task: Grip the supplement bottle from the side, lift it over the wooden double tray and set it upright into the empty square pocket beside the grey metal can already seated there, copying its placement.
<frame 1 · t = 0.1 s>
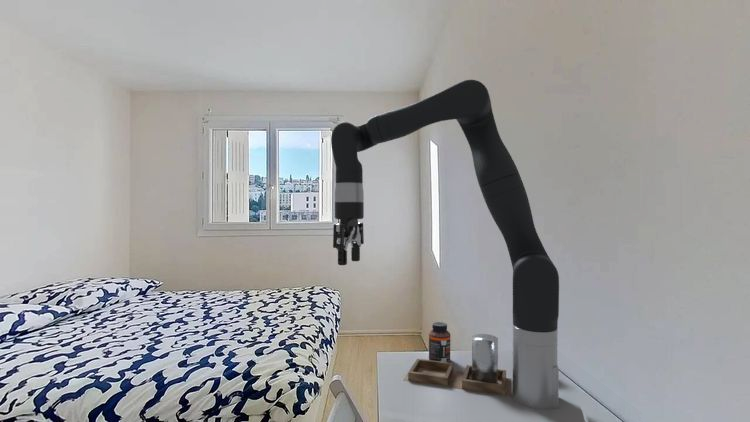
hand: (349, 263, 103), 29 cm above the table, tool pointing down, fingers open, 8 cm apart
supplement bottle: (439, 365, 110), on the table
seated can: (484, 383, 95), resting on wooden double tray
wooden double tray: (457, 384, 97), on the table
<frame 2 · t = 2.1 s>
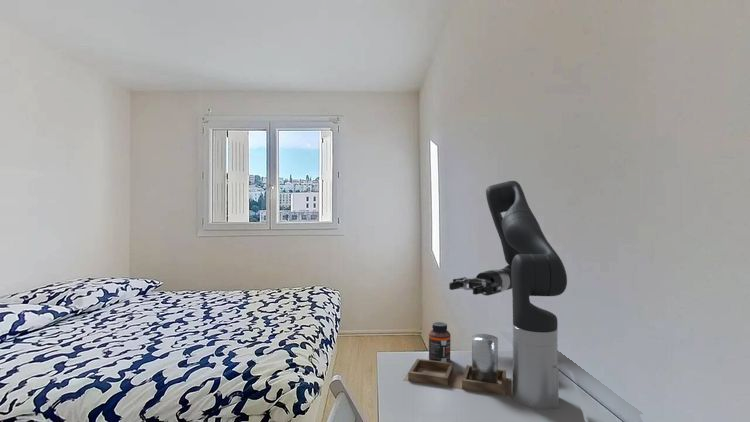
hand: (461, 288, 116), 20 cm above the table, tool horizontal, fingers open, 8 cm apart
nothing on the table moved.
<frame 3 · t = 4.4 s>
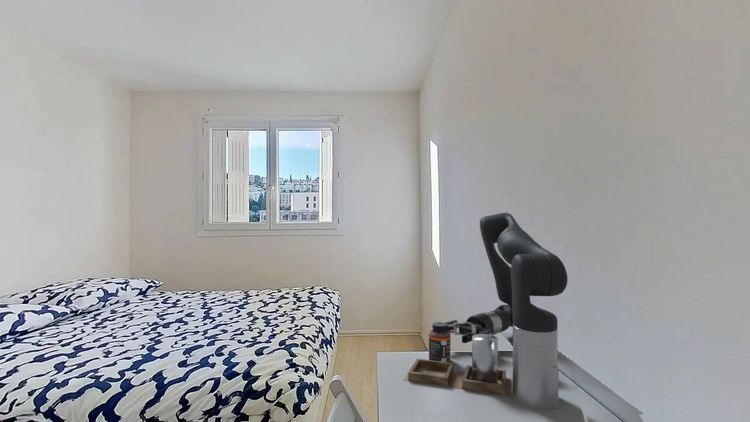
hand: (450, 335, 113), 7 cm above the table, tool horizontal, fingers open, 8 cm apart
nothing on the table moved.
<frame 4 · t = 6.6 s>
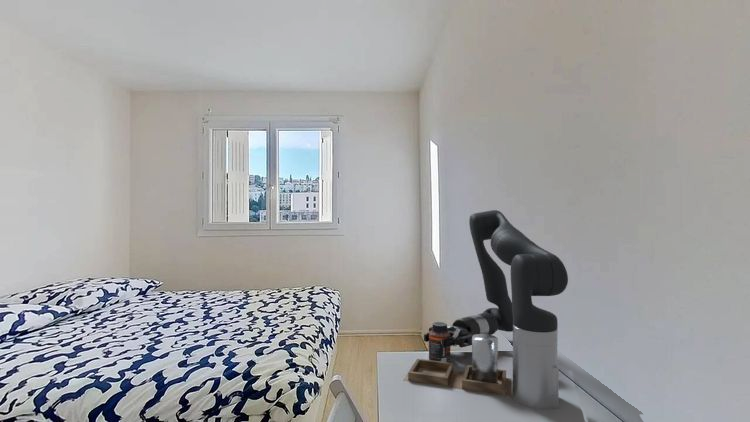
hand: (433, 340, 108), 7 cm above the table, tool horizontal, fingers closed on supplement bottle, 6 cm apart
supplement bottle: (439, 364, 110), on the table, touching gripper
everything else where it was.
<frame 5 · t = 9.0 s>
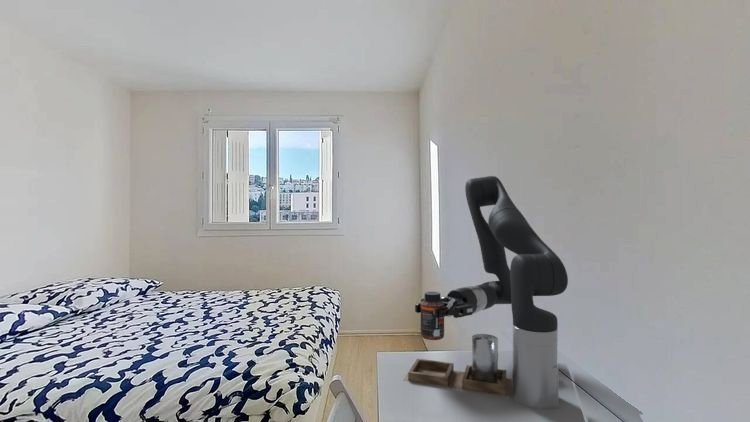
hand: (425, 311, 99), 18 cm above the table, tool horizontal, fingers closed on supplement bottle, 6 cm apart
supplement bottle: (432, 337, 100), point 11 cm above the table, touching gripper
everything else where it was.
when the fingers open (9 cm above the table, at t = 11.7 s): supplement bottle stays where it is, resting on wooden double tray.
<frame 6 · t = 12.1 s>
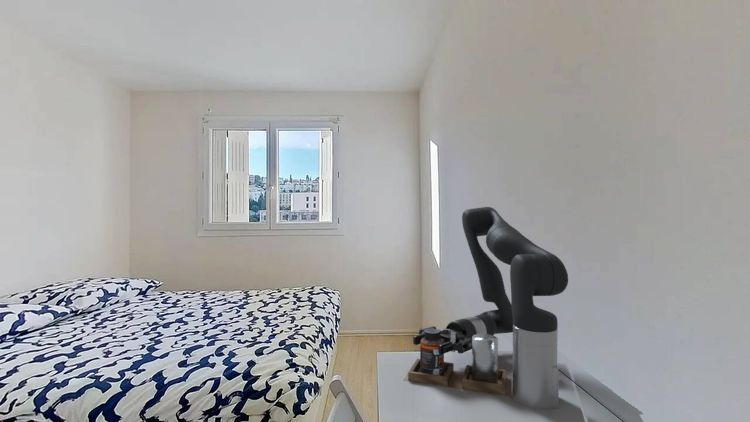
hand: (426, 345, 98), 9 cm above the table, tool horizontal, fingers open, 8 cm apart
supplement bottle: (432, 376, 100), point 1 cm above the table, touching wooden double tray
everything else where it was.
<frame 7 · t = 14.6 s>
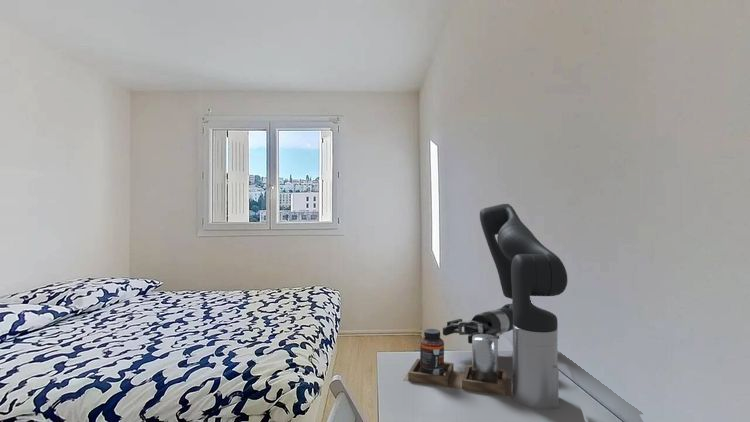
hand: (456, 335, 106), 9 cm above the table, tool horizontal, fingers open, 8 cm apart
nothing on the table moved.
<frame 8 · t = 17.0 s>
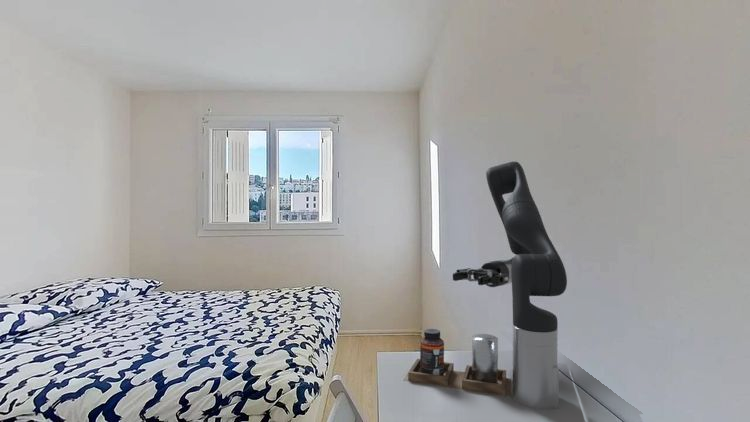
hand: (466, 279, 109), 24 cm above the table, tool horizontal, fingers open, 8 cm apart
nothing on the table moved.
at the end: supplement bottle 0.1 cm from the target spot on the wooden double tray, point 1.0 cm above the wooden double tray's base; supplement bottle tilted 0°; the gripper is holding nothing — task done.
